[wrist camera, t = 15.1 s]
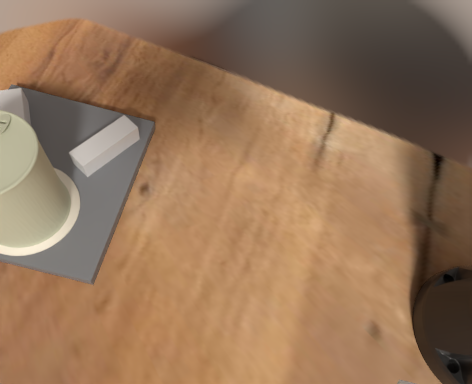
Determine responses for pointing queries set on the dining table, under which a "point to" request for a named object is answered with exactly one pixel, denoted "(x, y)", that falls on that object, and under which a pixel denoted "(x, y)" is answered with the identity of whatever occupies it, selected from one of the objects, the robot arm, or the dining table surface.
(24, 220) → the can
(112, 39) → the dining table surface
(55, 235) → the coupling stand
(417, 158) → the dining table surface
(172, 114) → the dining table surface
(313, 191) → the dining table surface
